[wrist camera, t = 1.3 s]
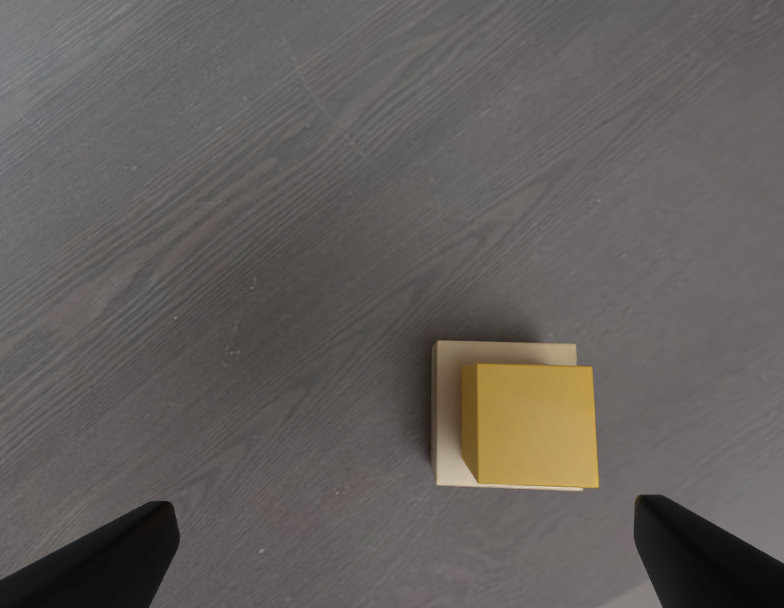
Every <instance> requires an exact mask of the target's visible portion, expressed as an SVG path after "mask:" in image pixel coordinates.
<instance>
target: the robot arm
mask: <svg viewBox="0 0 784 608" xmlns="http://www.w3.org/2000/svg"><path fill="white" fill-rule="evenodd" d="M634 540H635V544H636V548H637V550H638V552H639V555H640V557H641V559H642V562H643V564H644V566H645V568H646V571H647V573H648V575H649V578H650V580H651V582H652V584H653V586H654V589H655V591H656V593H657V596H658V598H659V600H660V603H661V605H662V607H663V608H784V563H782V562H780V561H778V560H777V559H775V558H773V557H771V556H769V555H768V554H766V553H764V552H762V551H760V550H759V549H757V548H755V547H754V546H752V545H750V544H748V543H747V542H745V541H743V540H741V539H739V538H738V537H736V536H734V535H732V534H731V533H729V532H727V531H725V530H724V529H722V528H720V527H718V526H716V525H715V524H713V523H711V522H709V521H708V520H706V519H704V518H702V517H701V516H699V515H697V514H695V513H693V512H692V511H690V510H688V509H686V508H685V507H683V506H681V505H679V504H678V503H676V502H674V501H672V500H670V499H669V498H667V497H665V496H663V495H639V496H638V497H636V500H635V512H634ZM179 541H180V533H179V528H178V524H177V519H176V515H175V510H174V507H173V505H172V503H171V502H169V501H151V502H148V503H146V504H144V505H142V506H140V507H138V508H136V509H134V510H132V511H130V512H129V513H127V514H125V515H123V516H121V517H119V518H117V519H115V520H113V521H112V522H110V523H108V524H106V525H104V526H102V527H100V528H98V529H96V530H95V531H93V532H91V533H89V534H87V535H85V536H83V537H81V538H79V539H77V540H76V541H74V542H72V543H70V544H68V545H66V546H64V547H62V548H60V549H59V550H57V551H55V552H53V553H51V554H49V555H47V556H45V557H43V558H42V559H40V560H38V561H36V562H34V563H32V564H30V565H28V566H26V567H25V568H23V569H21V570H19V571H17V572H15V573H13V574H11V575H9V576H7V577H6V578H4V579H2V580H0V608H149V606H150V604H151V602H152V600H153V598H154V596H155V594H156V592H157V590H158V588H159V586H160V584H161V582H162V580H163V578H164V576H165V574H166V572H167V570H168V567H169V565H170V563H171V561H172V559H173V557H174V555H175V553H176V551H177V549H178V546H179Z"/></svg>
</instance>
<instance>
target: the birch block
mask: <svg viewBox="0 0 784 608" xmlns="http://www.w3.org/2000/svg"><path fill="white" fill-rule="evenodd" d="M475 363H499V364H536V365H573V366H577V357H576V344H565V343H524V342H484V341H443V340H438V341H437V342H436V343H435V344H434V345H433V347H432V379H431V468H432V472H433V476H434V480H435V484H436V485H437V486H462V487H487V488H512V489H536V490H561V491H583V488H574V487H549V486H524V485H499V484H479V483H477V481H476V479H475V478H474V476H473V475H472V473H471V472H470V470H469V469H468V467H467V466H466V464H465V462H464V461H463V459H462V366H464V365H470V364H475Z"/></svg>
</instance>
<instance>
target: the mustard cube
mask: <svg viewBox="0 0 784 608" xmlns="http://www.w3.org/2000/svg"><path fill="white" fill-rule="evenodd" d="M462 459H463V461H464V462H465V464H466V466H467V467H468V469H469V470H470V472H471V473H472V475H473V476H474V478H475V479H476V481H477V483H479V484H499V485H524V486H549V487H574V488H599V476H598V458H597V441H596V424H595V406H594V389H593V372H592V367H591V366H573V365H536V364H499V363H475V364H470V365H464V366H462Z"/></svg>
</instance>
